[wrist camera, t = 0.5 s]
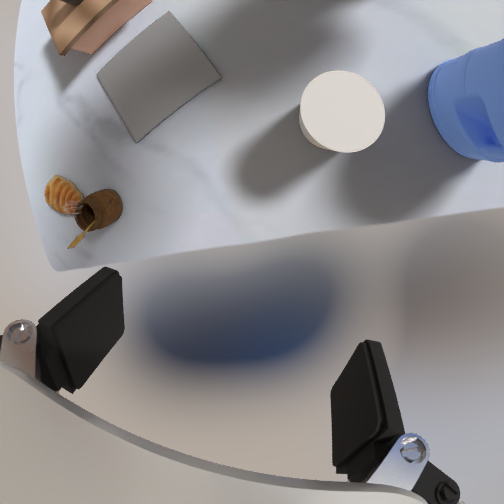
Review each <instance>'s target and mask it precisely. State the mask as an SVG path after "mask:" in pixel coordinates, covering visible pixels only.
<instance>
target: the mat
mask: <svg viewBox="0 0 504 504" xmlns="http://www.w3.org/2000/svg"><path fill="white" fill-rule="evenodd" d="M96 75H97V77H98V78H99V80H100V82H101V84H102V85H103V87H104V89H105V91H106V92H107V94H108V96H109V97H110V99H111V101H112V103H113V104H114V106H115V108H116V109H117V111H118V113H119V114H120V116H121V118H122V120H123V121H124V123H125V125H126V126H127V128H128V129H129V131H130V133H131V134H132V136H133V138H134V139H135V141H136V142H139V141H140V140H141V139H142V138H144V137H145V136H146V135H147V134H148V133H149V132H151V131H152V130H153V129H154V128H155V127H156V126H158V125H159V124H160V123H161V122H163V121H164V120H165V119H166V118H167V117H169V116H170V115H171V114H172V113H174V112H175V111H176V110H178V109H179V108H180V107H182V106H183V105H184V104H186V103H187V102H188V101H190V100H191V99H192V98H194V97H195V96H196V95H198V94H199V93H201V92H202V91H203V90H205V89H206V88H208V87H209V86H211V85H212V84H214V83H215V82H217V81H218V80H220V79H221V78H222V77H221V76H220V75H219V73H218V72H217V70H216V69H215V68H214V66H213V65H212V64H211V62H210V61H209V60H208V58H207V57H206V56H205V55H204V53H203V52H202V51H201V49H200V48H199V47H198V45H197V44H196V43H195V42H194V40H193V39H192V38H191V37H190V35H189V34H188V33H187V32H186V30H185V29H184V28H183V27H182V25H181V24H180V23H179V22H178V21H177V19H176V18H175V17H174V16H173V15H172V13H171V12H170V11H168V12H167V13H166V14H164V15H163V16H162V17H160V18H159V19H158V20H156V21H155V22H154V23H152V24H151V25H150V26H149V27H147V28H146V29H145V30H144V31H142V32H141V33H140V34H139V35H138V36H136V37H135V38H134V39H133V40H132V41H131V42H129V43H128V44H127V45H126V46H125V47H124V48H123V49H122V50H121V51H120V52H118V53H117V54H116V55H115V56H114V57H113V58H112V59H111V60H110V61H109V62H108V63H107V64H106V65H105V66H104V67H103V68H102V69H101V70H100V71H99V72H98V73H97V74H96Z"/></svg>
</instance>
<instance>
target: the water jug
mask: <svg viewBox="0 0 504 504" xmlns="http://www.w3.org/2000/svg"><path fill="white" fill-rule="evenodd" d="M428 102H429V108H430V112H431V115H432V118H433V121H434V123H435V125H436V127H437V129H438V131H439V133H440V134H441V136H442V137H443V139H444V140H445V141H446V142H447V144H448V145H449V146H450V147H451V148H452V149H454V150H455V151H456V152H458V153H459V154H461V155H463V156H465V157H468V158H471V159H477V160H487V161H492V162H504V39H502V40H501V41H498V42H495V43H493V44H490V45H487V46H485V47H480V48H476V49H474V50H472V51H469V52H468V53H466V54H465V55H463V56H460V57H458V58H456V59H452V60H449V61H447V62H444V63H442V64H441V65H440V66H438V67H437V68H436V70H435V71H434V72H433V74H432V76H431V79H430V82H429V87H428Z"/></svg>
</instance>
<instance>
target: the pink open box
mask: <svg viewBox="0 0 504 504" xmlns="http://www.w3.org/2000/svg"><path fill="white" fill-rule="evenodd" d="M151 2H152V0H119V1H118V2H117V3H115V4H114V5H113V6H112V7H111V8H110V9H109V10H108V11H107V12H105V13H104V14H103V15H102V16H101V17H100V18H99V19H98V20H97V21H96V22H95V23H94V24H93V25H92V26H91V27H90V28H89V29H88V30H87V31H86V32H85V33H84V34H83V35H82V36H81V37H80V38H79V40H78V41H77V42H76V43H75V44H74V45H73V46H72V47H71V49H74V50H78V51H82V52H86V53H89V54H93V53H94V52H95V51H96V50H97V49H98V48H99V47H100V46H101V45H102V44H103V43H104V42H105V41H106V40H107V39H108V38H109V37H110V36H111V35H113V34H114V33H115V32H116V31H117V30H118V29H119V28H120V27H121V26H122V25H124V24H125V23H126V22H127V21H128V20H129V19H131V18H132V17H133V16H134V15H135V14H137V13H138V12H139V11H140V10H142V9H143V8H144V7H145V6H147V5H148V4H149V3H151Z"/></svg>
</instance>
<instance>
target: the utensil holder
mask: <svg viewBox="0 0 504 504" xmlns="http://www.w3.org/2000/svg"><path fill="white" fill-rule="evenodd" d="M69 202H70V201H69ZM72 203H74V202H72ZM65 205H66V204H65ZM65 205H64V206H65ZM68 205H71V204H68ZM68 205H67V206H68ZM75 205H76V207H74V208H75V209H74V210H75V211H74V213H72V214H75V216H74V217H75V220H76V222H77V224H78V226H79V227H80V228H81V229H82V230H84V232H83V233H82V234H80V235H79V236H77V237H76V238H75V240H74V241H73V242H72V243H71V244H70V245H69V247H68V249H69V248H72V247H73V248H74V247H75V246H76V245H77V244H78V243H79V242H80V241H81V240H82V238H83V237H84V234H85V233H86V232H89V231H94V230H96V229H101V228H104V227H106V226H108V225H109V224H111V223H113V222H115V221H116V220H117V219H118V218H119V217H120V216H121V213H122V209H123V205H122V200H121V198H120V196H119V195H118V194H117V193H116V192H115V191H114V190H111V189H104V190H100V191H97V192H95V193H92V194H90V195H88V196H87V197H86V198H84V199H82V200H81V201H78V203H77V204H75ZM67 206H66V207H67ZM63 208H64V207H63ZM69 209H70V208H69ZM63 211H64V212H65V211H66V208H65V209H64V210H63ZM67 211H69V210H67ZM65 213H66V212H65ZM68 213H69V212H68ZM66 216H69V217H70V216H71V215H67V214H66Z"/></svg>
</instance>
